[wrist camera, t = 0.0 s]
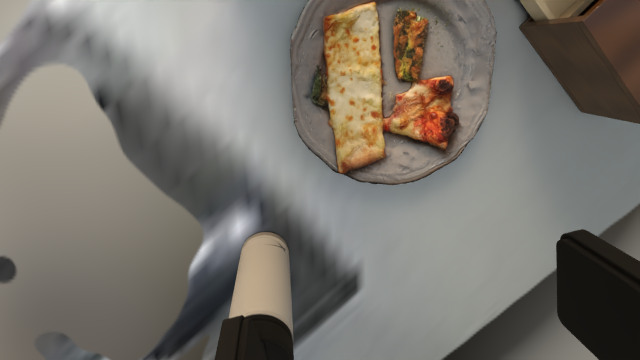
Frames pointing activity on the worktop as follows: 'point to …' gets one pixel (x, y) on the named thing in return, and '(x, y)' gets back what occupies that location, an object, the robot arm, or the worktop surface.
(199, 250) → the worktop surface
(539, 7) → the drawer
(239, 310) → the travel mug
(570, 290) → the robot arm
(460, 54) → the food plate
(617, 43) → the cabinet
